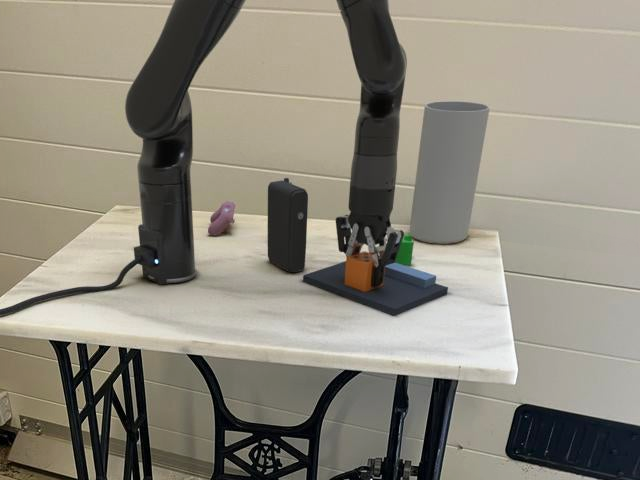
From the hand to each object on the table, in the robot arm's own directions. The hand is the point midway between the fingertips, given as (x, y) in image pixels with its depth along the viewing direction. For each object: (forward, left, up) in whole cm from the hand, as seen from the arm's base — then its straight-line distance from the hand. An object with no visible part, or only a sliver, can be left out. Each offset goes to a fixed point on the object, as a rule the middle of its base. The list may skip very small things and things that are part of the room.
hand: (364, 281), depth 132 cm
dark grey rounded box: (-1, +19, -2) cm, 19 cm away
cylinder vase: (+37, +11, -2) cm, 39 cm away
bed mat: (+3, 0, -2) cm, 3 cm away
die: (0, 0, -1) cm, 1 cm away
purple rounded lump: (+5, +46, -2) cm, 46 cm away
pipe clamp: (+18, +6, -2) cm, 19 cm away
